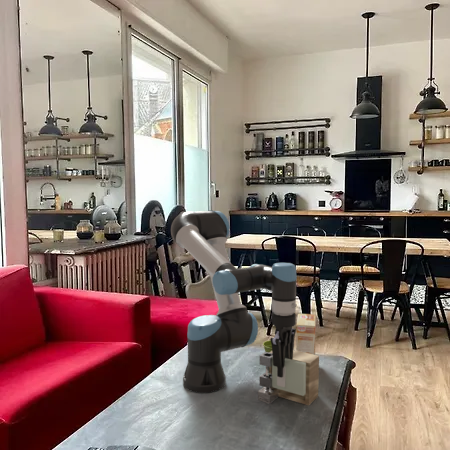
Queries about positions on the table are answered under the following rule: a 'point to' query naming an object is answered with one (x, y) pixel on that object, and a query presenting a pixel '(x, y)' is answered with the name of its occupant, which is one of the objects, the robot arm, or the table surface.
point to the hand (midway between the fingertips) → (283, 384)
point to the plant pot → (267, 346)
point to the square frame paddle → (293, 375)
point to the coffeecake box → (306, 333)
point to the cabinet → (311, 382)
